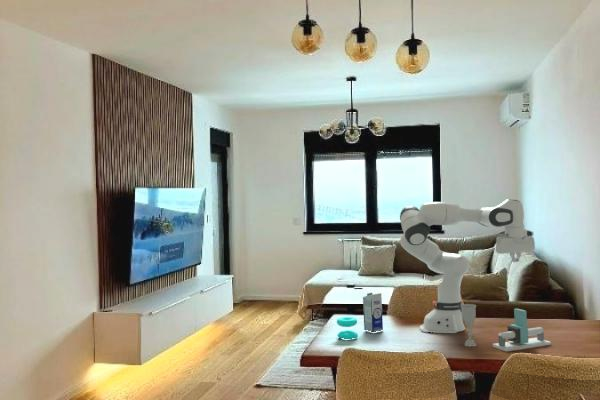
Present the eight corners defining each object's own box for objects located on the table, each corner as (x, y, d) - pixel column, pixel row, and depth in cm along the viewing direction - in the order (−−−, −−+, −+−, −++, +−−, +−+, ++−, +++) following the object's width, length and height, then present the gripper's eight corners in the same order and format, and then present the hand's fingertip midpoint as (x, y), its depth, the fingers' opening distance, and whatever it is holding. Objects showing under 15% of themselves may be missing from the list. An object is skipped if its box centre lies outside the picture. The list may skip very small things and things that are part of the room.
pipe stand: (506, 351, 238) (505, 335, 238) (492, 346, 247) (492, 330, 247) (550, 344, 246) (550, 328, 246) (536, 340, 255) (535, 324, 255)
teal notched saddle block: (521, 343, 242) (519, 311, 242) (510, 340, 249) (508, 309, 249) (528, 342, 243) (527, 311, 243) (517, 339, 250) (516, 308, 250)
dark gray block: (517, 343, 242) (516, 329, 242) (508, 339, 248) (507, 326, 248) (520, 342, 243) (519, 328, 243) (510, 339, 248) (510, 325, 248)
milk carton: (373, 334, 279) (371, 294, 279) (364, 331, 284) (362, 293, 284) (383, 331, 283) (381, 292, 283) (374, 329, 288) (372, 291, 289)
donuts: (333, 319, 270) (341, 315, 279) (334, 340, 270) (342, 335, 279) (352, 321, 265) (360, 317, 274) (353, 342, 265) (360, 337, 274)
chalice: (459, 343, 254) (458, 304, 254) (474, 342, 255) (472, 303, 255) (466, 347, 247) (464, 307, 247) (480, 346, 248) (479, 306, 248)
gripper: (500, 234, 259) (502, 264, 259) (536, 232, 265) (537, 260, 265) (492, 234, 265) (493, 262, 265) (527, 231, 271) (528, 259, 271)
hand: (515, 261), depth 265 cm, fingers closed
